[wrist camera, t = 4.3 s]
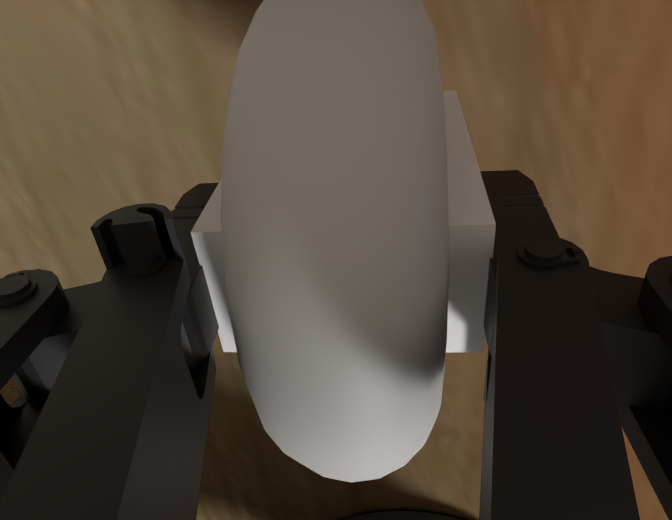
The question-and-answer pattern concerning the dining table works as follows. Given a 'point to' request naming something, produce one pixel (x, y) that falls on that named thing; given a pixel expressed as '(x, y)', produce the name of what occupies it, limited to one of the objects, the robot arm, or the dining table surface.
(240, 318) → the grey curved piece
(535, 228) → the robot arm
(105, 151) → the dining table surface
